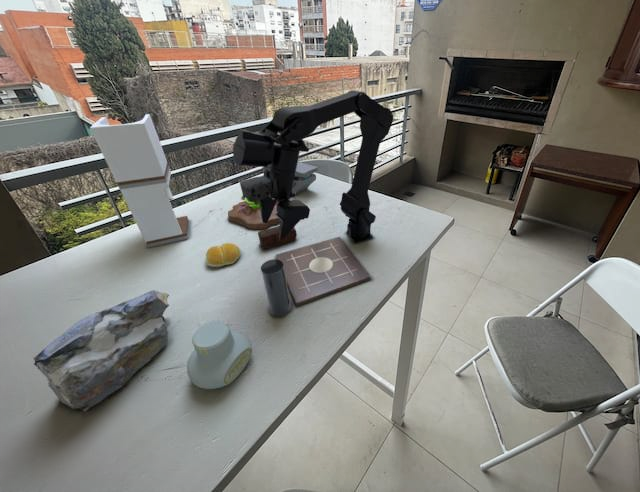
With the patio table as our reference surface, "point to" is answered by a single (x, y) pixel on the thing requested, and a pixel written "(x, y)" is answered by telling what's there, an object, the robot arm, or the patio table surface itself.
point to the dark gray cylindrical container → (276, 287)
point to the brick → (274, 237)
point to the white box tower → (142, 177)
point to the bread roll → (222, 255)
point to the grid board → (321, 270)
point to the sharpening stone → (302, 176)
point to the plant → (251, 215)
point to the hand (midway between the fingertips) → (272, 230)
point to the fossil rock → (104, 350)
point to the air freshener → (217, 355)
